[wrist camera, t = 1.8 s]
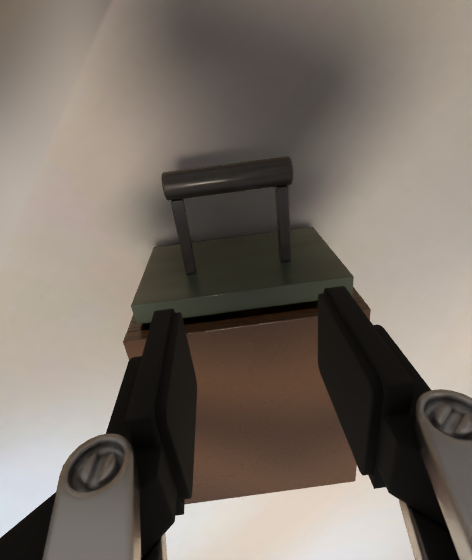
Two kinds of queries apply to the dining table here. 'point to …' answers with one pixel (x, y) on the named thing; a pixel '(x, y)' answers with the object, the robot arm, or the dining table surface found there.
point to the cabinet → (260, 406)
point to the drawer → (237, 255)
